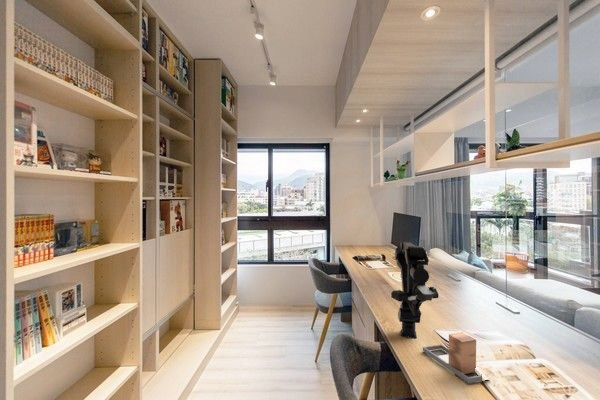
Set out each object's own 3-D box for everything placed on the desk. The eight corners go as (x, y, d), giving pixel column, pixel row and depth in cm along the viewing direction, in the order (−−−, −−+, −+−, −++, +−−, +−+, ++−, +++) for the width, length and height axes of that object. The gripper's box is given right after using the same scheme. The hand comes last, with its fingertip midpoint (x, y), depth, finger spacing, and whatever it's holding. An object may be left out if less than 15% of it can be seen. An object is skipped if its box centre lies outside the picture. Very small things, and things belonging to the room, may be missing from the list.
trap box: (422, 352, 119) (422, 347, 119) (441, 349, 122) (441, 344, 122) (468, 384, 98) (468, 378, 98) (489, 380, 100) (490, 374, 100)
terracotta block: (448, 365, 108) (448, 334, 108) (462, 362, 110) (462, 332, 110) (461, 374, 102) (462, 341, 102) (475, 371, 104) (476, 339, 104)
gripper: (407, 283, 112) (407, 325, 112) (448, 280, 118) (448, 320, 118) (390, 276, 123) (390, 315, 123) (429, 274, 128) (428, 310, 128)
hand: (414, 315), depth 123 cm, fingers closed
